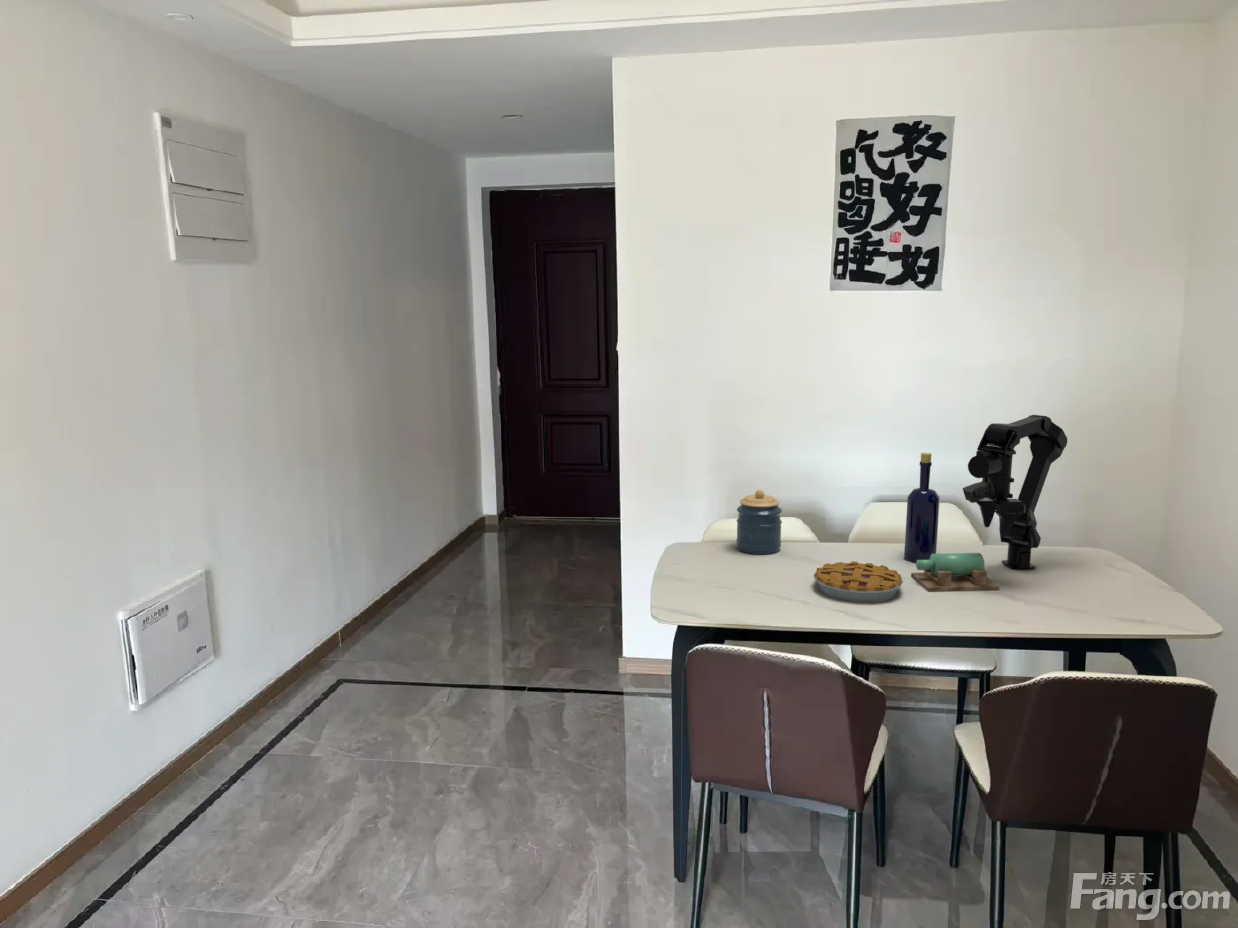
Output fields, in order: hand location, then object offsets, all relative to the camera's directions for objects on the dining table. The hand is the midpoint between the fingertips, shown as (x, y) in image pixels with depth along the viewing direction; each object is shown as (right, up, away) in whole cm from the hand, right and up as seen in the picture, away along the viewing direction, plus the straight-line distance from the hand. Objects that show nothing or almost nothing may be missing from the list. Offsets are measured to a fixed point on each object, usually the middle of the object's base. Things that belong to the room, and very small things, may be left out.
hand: (994, 531), depth 230 cm
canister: (-57, -7, +29) cm, 64 cm away
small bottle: (-13, -11, -3) cm, 17 cm away
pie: (-38, -14, -7) cm, 41 cm away
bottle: (-13, -9, +18) cm, 24 cm away
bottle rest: (-12, -13, -3) cm, 18 cm away
